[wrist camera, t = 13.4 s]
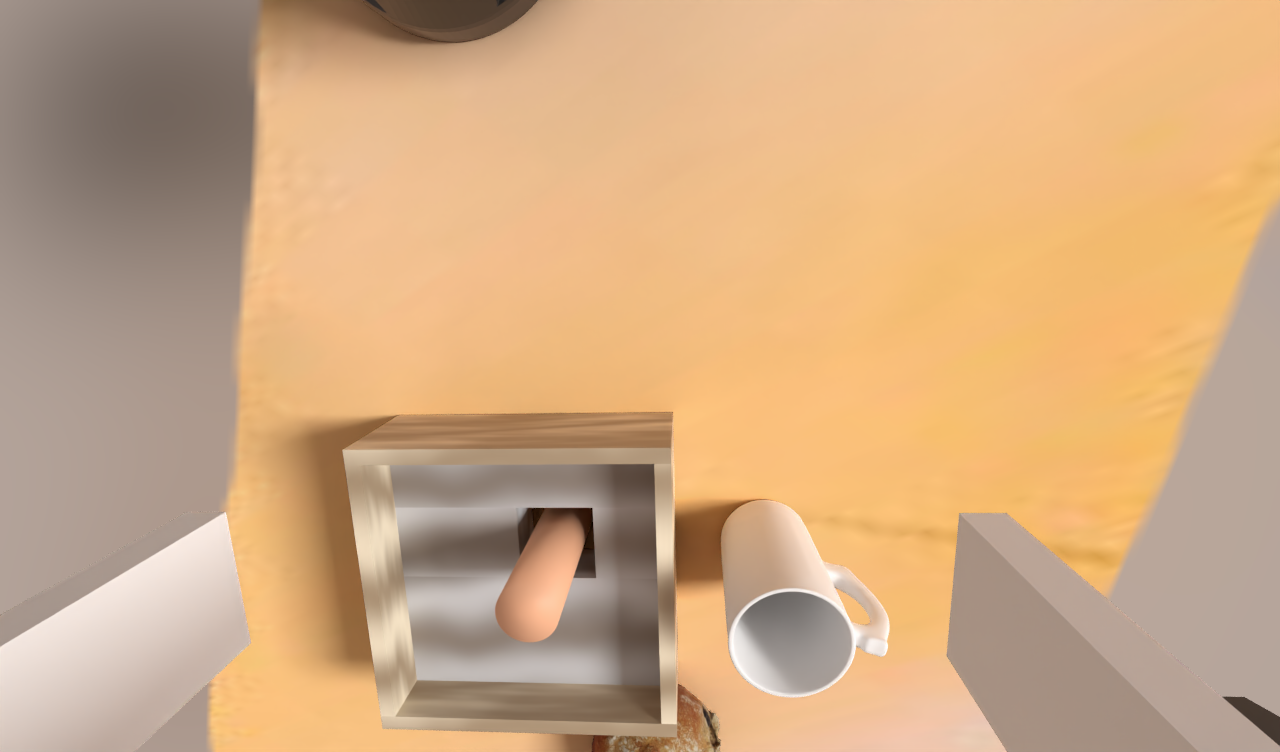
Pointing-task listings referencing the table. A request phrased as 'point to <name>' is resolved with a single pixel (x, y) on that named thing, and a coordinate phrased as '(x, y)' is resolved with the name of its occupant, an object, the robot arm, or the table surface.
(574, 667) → the socket box
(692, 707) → the bread roll
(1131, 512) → the table surface
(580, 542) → the peg
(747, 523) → the mug
